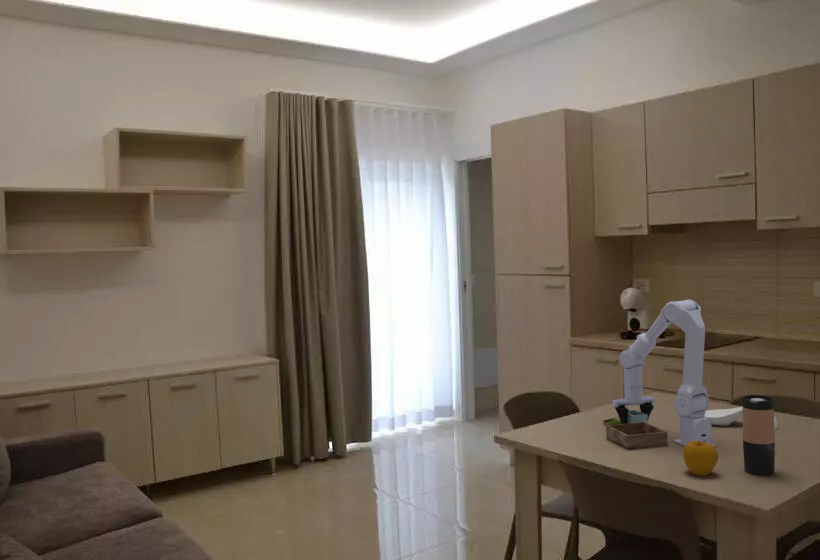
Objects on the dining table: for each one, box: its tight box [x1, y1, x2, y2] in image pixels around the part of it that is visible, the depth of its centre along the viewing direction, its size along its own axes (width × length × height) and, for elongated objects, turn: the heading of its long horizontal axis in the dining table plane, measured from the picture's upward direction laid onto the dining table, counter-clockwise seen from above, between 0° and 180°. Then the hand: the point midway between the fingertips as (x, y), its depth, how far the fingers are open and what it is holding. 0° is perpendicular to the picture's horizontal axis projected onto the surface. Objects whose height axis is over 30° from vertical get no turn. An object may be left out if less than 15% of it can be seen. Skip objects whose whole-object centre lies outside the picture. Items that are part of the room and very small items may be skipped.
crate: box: [605, 422, 668, 451], centre depth 219 cm, size 13×13×4 cm
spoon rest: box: [705, 406, 778, 431], centre depth 234 cm, size 24×12×7 cm, turn 60°
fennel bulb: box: [602, 415, 621, 426], centre depth 240 cm, size 6×5×12 cm
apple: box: [682, 441, 719, 477], centre depth 187 cm, size 9×8×9 cm
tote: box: [627, 409, 649, 424], centre depth 233 cm, size 5×8×6 cm, turn 13°
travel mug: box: [741, 394, 776, 477], centre depth 186 cm, size 8×8×20 cm
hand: (634, 426), depth 233 cm, fingers open, 7 cm apart
